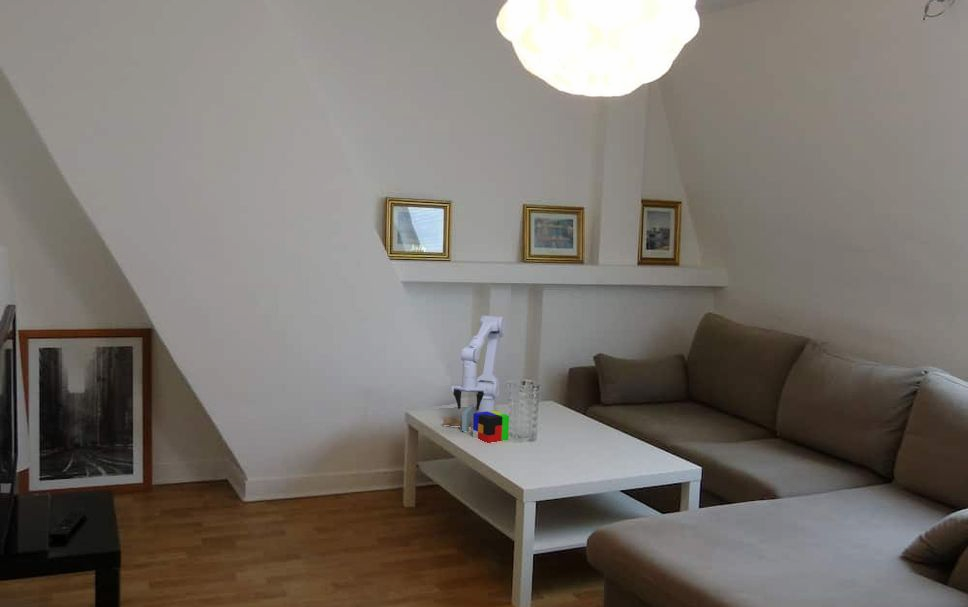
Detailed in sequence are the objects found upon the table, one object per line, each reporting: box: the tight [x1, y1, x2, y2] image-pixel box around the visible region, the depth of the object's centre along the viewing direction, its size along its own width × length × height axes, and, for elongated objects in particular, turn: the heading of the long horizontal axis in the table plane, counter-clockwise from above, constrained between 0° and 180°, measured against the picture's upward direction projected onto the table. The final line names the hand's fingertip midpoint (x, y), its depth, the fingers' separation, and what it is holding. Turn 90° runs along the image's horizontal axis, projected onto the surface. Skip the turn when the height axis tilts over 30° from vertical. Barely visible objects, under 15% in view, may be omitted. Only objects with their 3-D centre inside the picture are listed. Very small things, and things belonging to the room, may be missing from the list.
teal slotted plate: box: [461, 404, 475, 432], centre depth 375 cm, size 14×2×8 cm, turn 170°
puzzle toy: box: [472, 410, 510, 444], centre depth 360 cm, size 10×10×10 cm
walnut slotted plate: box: [443, 416, 473, 428], centre depth 376 cm, size 20×2×4 cm, turn 80°
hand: (468, 409), depth 375 cm, fingers open, 7 cm apart
